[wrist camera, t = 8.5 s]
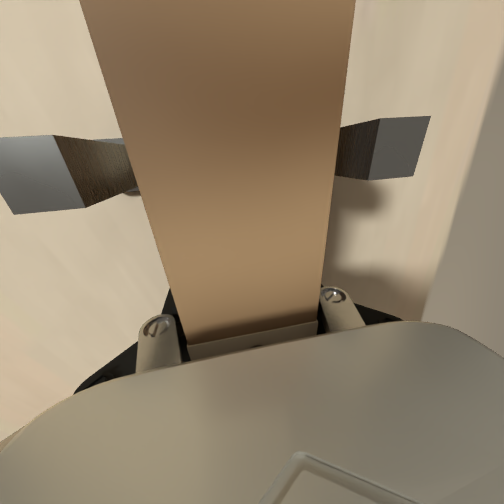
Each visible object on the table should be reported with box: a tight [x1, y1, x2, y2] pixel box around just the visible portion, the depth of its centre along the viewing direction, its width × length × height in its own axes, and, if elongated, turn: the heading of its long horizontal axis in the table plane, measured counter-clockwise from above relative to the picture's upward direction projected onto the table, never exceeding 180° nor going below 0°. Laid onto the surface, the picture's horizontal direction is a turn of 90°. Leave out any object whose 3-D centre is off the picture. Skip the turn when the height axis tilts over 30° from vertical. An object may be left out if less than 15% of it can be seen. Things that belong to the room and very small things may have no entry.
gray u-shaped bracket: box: [0, 116, 431, 215], centre depth 8 cm, size 2×12×6 cm, turn 94°
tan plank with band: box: [79, 0, 356, 361], centre depth 10 cm, size 20×5×6 cm, turn 4°
